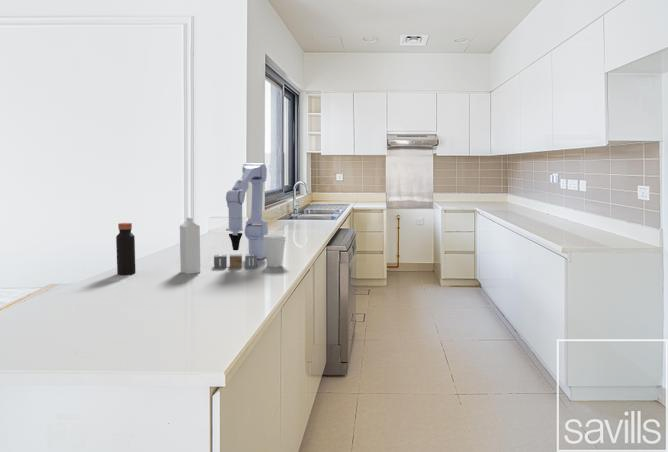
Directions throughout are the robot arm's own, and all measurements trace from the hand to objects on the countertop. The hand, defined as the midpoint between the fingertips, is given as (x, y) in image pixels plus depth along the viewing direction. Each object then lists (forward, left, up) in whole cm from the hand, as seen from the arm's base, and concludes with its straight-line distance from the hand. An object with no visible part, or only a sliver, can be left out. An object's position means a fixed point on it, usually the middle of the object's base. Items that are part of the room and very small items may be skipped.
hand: (235, 250), depth 240 cm
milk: (+17, -12, -7) cm, 22 cm away
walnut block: (0, 0, -7) cm, 7 cm away
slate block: (-3, +6, -7) cm, 10 cm away
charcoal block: (+3, -6, -7) cm, 10 cm away
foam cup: (-8, +15, -7) cm, 18 cm away
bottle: (+28, -34, -7) cm, 45 cm away
